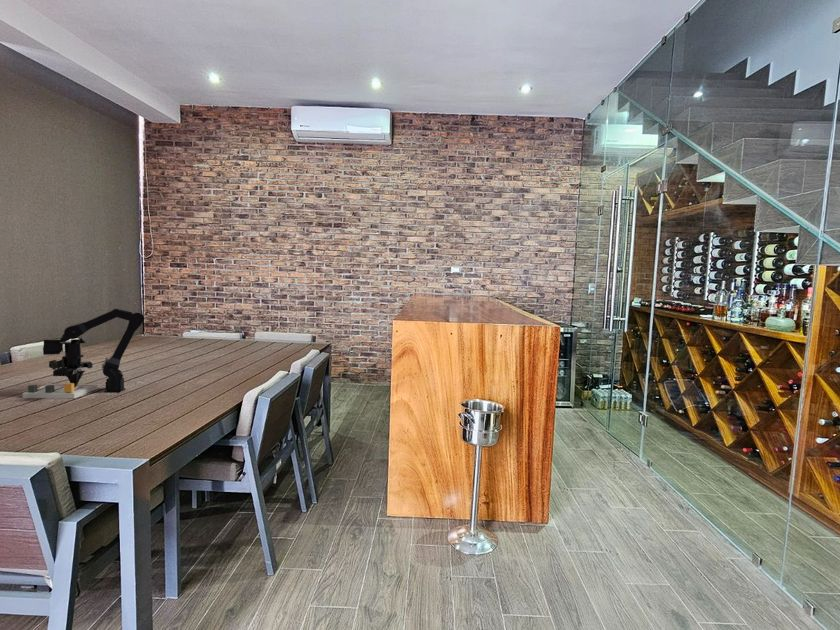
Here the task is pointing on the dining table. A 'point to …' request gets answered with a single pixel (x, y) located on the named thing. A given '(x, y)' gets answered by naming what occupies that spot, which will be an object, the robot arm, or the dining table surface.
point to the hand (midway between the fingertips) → (74, 387)
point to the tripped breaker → (69, 387)
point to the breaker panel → (57, 391)
